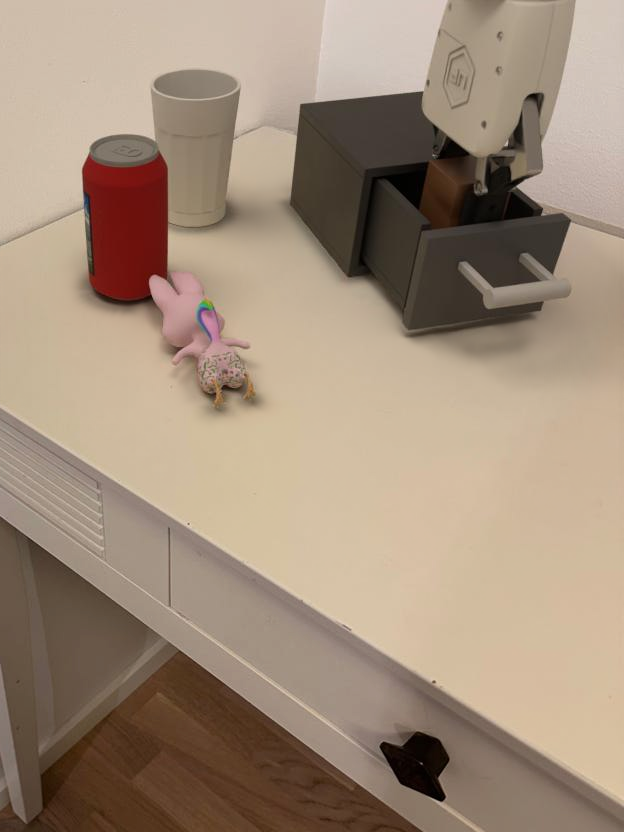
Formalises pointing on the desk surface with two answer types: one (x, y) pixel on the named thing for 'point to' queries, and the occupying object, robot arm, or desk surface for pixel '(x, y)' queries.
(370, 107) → the cabinet
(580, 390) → the desk surface
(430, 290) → the drawer
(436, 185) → the block
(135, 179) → the beverage can
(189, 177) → the cup
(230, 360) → the rabbit figure
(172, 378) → the desk surface
